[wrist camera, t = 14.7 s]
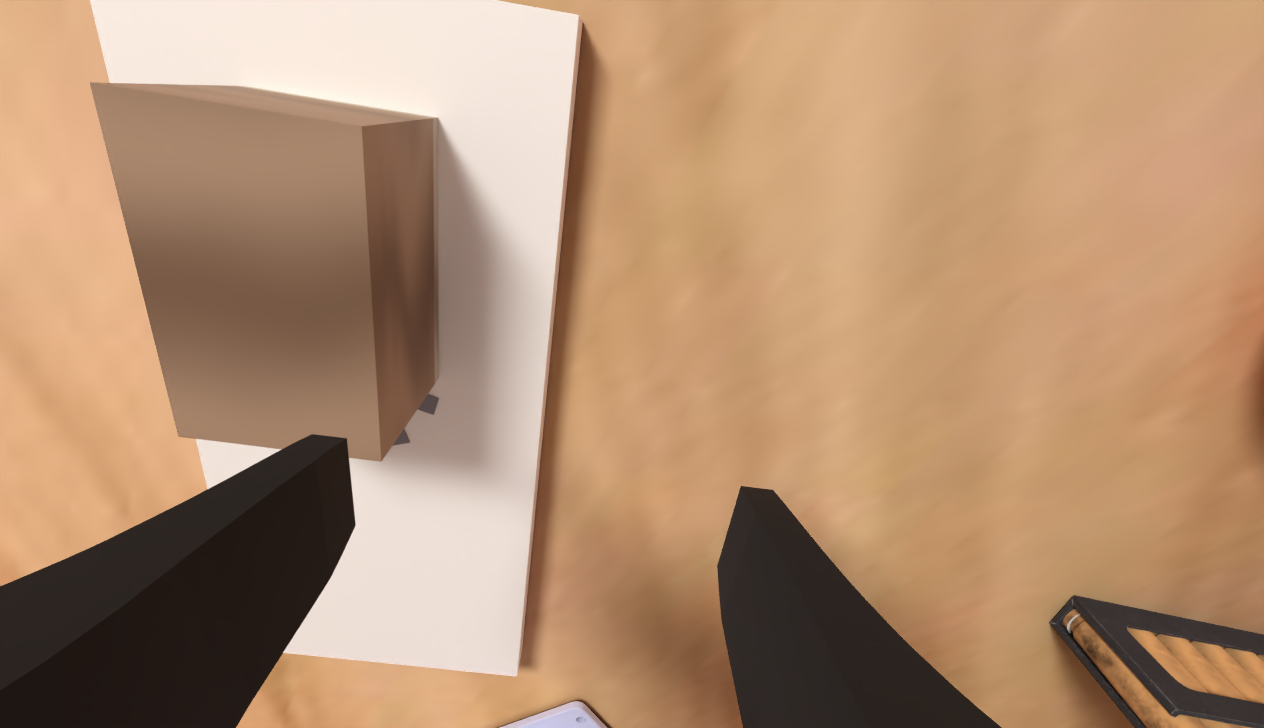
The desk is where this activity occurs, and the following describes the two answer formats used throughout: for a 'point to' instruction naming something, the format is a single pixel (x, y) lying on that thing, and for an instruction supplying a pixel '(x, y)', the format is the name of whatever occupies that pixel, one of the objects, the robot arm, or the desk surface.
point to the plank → (467, 292)
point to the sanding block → (281, 258)
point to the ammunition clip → (1168, 665)
